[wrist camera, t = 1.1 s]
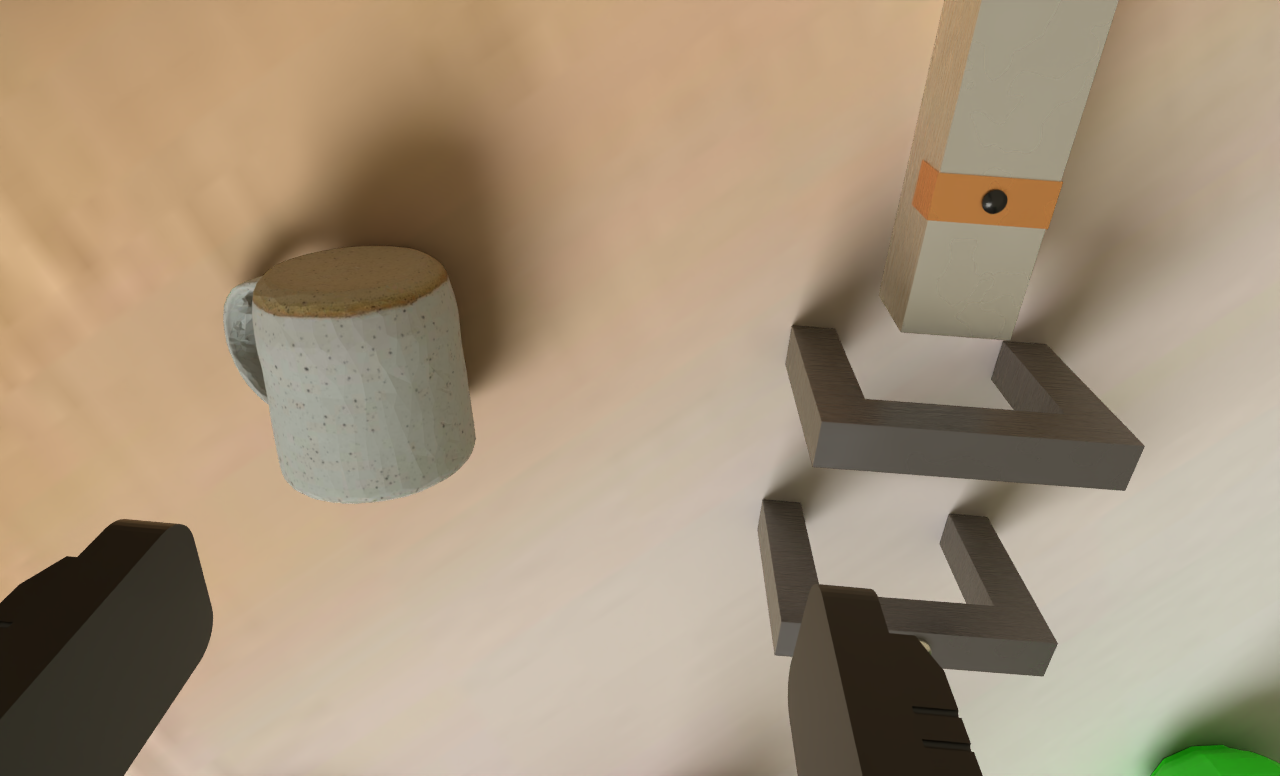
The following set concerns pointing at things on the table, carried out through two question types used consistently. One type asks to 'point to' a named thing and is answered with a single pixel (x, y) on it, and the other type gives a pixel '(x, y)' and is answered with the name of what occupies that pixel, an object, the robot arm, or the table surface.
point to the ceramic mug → (357, 370)
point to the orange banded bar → (989, 160)
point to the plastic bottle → (1216, 763)
